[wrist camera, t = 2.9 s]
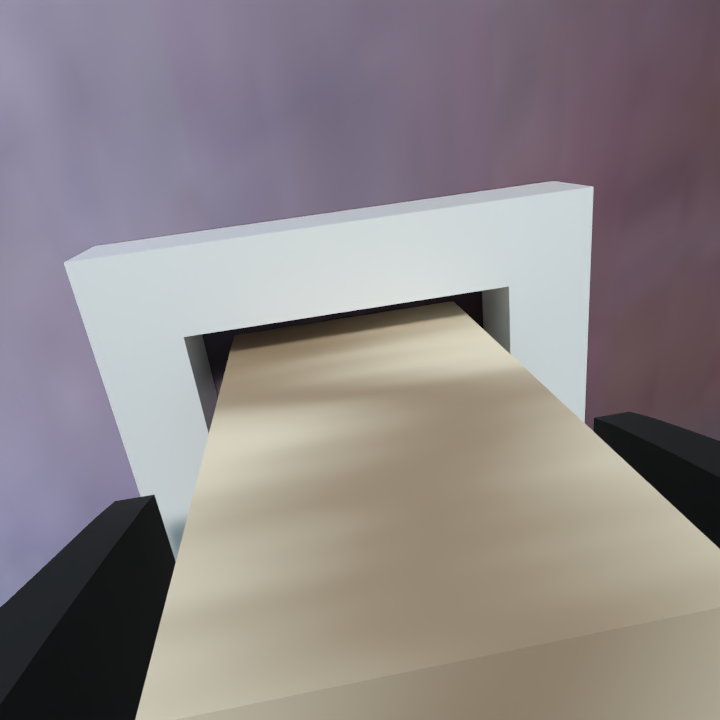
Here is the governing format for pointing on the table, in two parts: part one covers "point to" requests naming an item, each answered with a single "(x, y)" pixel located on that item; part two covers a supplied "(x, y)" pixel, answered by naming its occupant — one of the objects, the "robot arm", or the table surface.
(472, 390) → the maple block
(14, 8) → the table surface
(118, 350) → the frame
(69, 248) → the table surface
